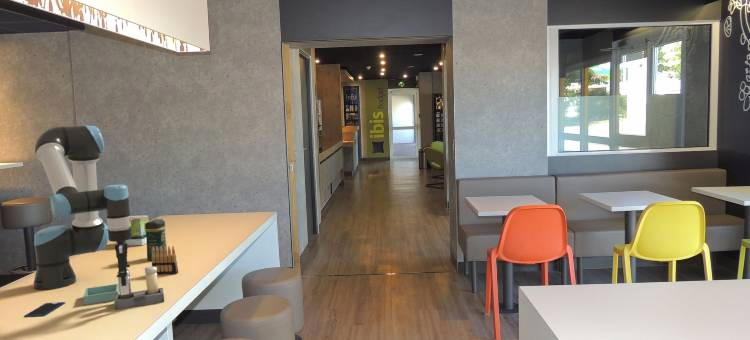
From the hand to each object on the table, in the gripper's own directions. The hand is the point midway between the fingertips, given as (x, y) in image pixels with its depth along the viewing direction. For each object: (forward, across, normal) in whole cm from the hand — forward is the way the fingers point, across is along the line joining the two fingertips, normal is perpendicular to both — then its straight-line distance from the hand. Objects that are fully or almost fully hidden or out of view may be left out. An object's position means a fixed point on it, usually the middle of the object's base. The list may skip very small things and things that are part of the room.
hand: (125, 290), depth 199 cm
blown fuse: (+5, 0, 0) cm, 5 cm away
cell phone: (+6, +9, +26) cm, 29 cm away
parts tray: (+5, +13, +8) cm, 16 cm away
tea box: (+6, +109, -2) cm, 109 cm away
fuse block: (+5, 0, -4) cm, 7 cm away
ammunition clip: (+6, +36, -14) cm, 39 cm away
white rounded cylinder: (+5, 0, -9) cm, 10 cm away
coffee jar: (+5, +67, -12) cm, 68 cm away
